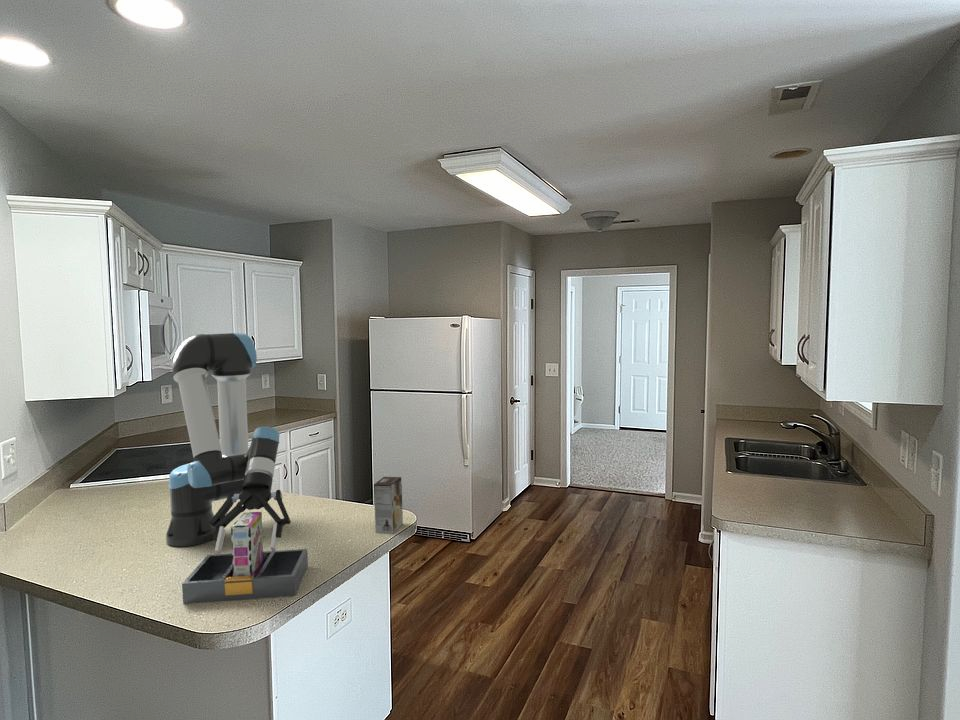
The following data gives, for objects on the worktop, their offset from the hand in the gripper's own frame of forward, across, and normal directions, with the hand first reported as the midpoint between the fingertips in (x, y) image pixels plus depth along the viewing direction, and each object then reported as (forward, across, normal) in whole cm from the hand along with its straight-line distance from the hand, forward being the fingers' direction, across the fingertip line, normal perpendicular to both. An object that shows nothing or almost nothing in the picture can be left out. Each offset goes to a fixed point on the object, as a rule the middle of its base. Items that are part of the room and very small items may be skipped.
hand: (245, 551), depth 144 cm
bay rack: (+5, 0, -8) cm, 10 cm away
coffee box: (-19, -34, -33) cm, 51 cm away
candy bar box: (+5, 0, -8) cm, 9 cm away
